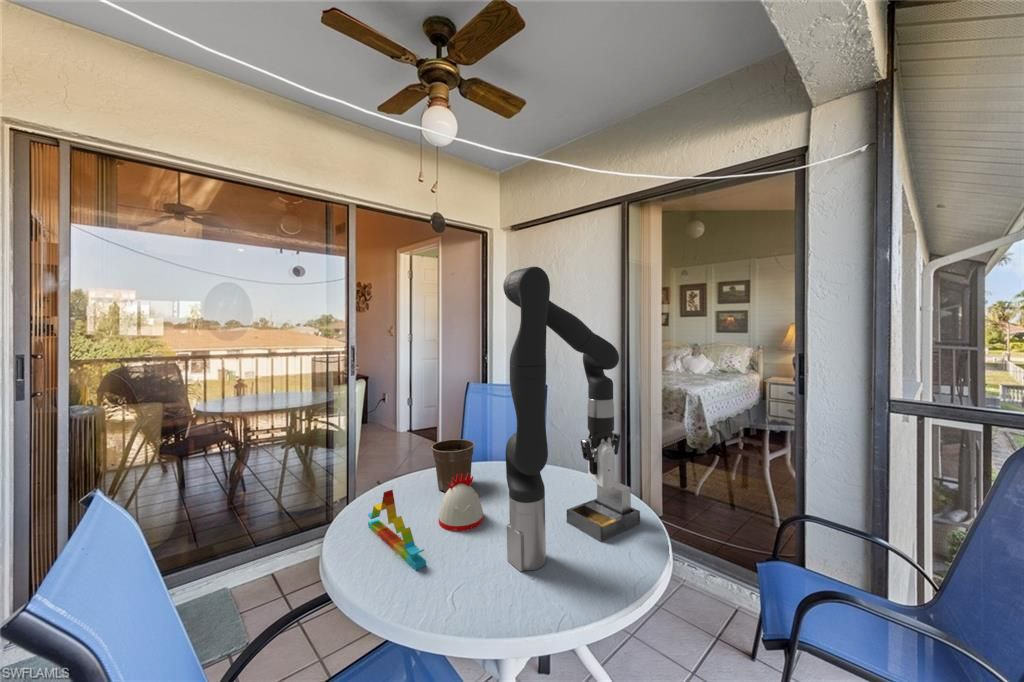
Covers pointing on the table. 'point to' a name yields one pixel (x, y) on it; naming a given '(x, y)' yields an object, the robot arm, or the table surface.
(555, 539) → the table surface
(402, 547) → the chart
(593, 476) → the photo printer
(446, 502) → the kitchen timer
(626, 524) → the rack
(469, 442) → the plant pot
